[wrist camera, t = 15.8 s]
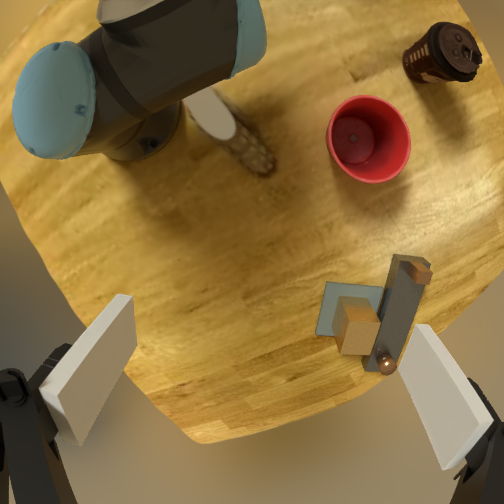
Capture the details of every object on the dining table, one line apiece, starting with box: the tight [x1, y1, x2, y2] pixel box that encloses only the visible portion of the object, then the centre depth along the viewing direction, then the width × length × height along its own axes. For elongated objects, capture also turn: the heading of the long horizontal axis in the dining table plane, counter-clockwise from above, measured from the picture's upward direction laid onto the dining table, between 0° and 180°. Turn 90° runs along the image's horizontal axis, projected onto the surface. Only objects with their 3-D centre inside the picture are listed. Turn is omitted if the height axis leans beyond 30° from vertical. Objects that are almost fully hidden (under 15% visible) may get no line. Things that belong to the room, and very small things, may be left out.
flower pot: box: [326, 95, 411, 184], centre depth 38 cm, size 11×11×10 cm
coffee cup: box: [402, 22, 482, 84], centre depth 31 cm, size 9×8×13 cm
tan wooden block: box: [331, 296, 381, 355], centre depth 47 cm, size 6×5×8 cm
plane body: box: [361, 254, 433, 375], centre depth 48 cm, size 22×6×7 cm, turn 174°
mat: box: [315, 282, 383, 336], centre depth 51 cm, size 10×10×1 cm
